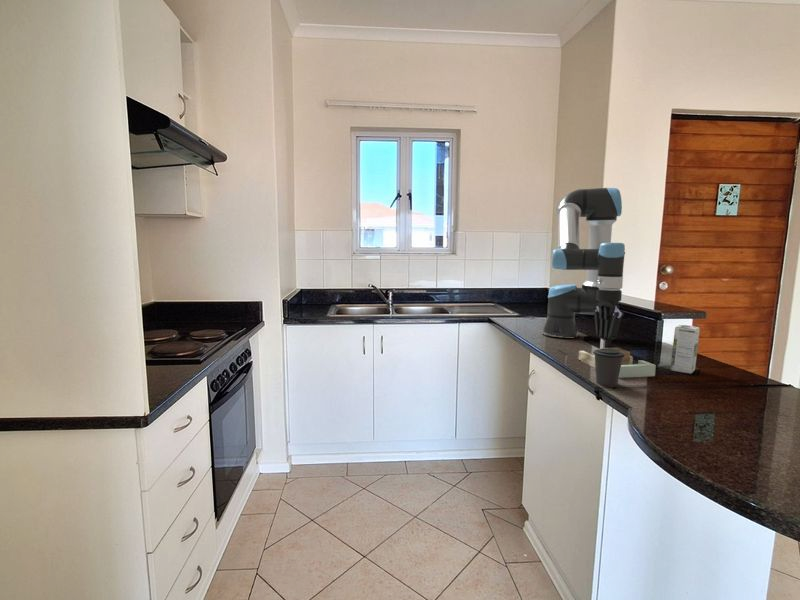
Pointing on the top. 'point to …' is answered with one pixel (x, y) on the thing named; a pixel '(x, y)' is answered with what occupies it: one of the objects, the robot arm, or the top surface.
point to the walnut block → (626, 355)
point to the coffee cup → (607, 366)
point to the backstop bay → (637, 370)
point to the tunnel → (592, 358)
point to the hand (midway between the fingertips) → (604, 357)
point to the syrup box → (685, 348)
